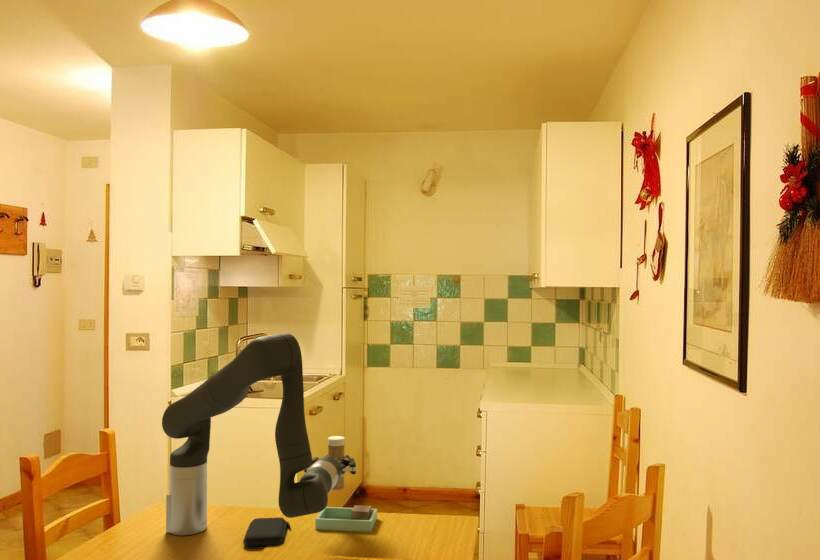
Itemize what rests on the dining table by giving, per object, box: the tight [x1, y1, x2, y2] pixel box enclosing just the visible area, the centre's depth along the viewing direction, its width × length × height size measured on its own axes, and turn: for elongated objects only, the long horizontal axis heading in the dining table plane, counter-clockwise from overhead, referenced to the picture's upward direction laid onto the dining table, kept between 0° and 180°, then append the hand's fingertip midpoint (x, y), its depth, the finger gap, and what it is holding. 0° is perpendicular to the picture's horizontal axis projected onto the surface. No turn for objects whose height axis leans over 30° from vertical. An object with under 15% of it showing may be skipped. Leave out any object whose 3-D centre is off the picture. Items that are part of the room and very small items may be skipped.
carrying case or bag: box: [242, 517, 291, 549], centre depth 159 cm, size 11×3×15 cm
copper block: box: [351, 504, 372, 520], centre depth 167 cm, size 4×4×4 cm
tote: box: [314, 506, 378, 533], centre depth 167 cm, size 15×9×3 cm, turn 84°
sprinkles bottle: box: [327, 435, 346, 492], centre depth 167 cm, size 5×5×14 cm
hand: (338, 458), depth 170 cm, fingers closed on sprinkles bottle, 4 cm apart
